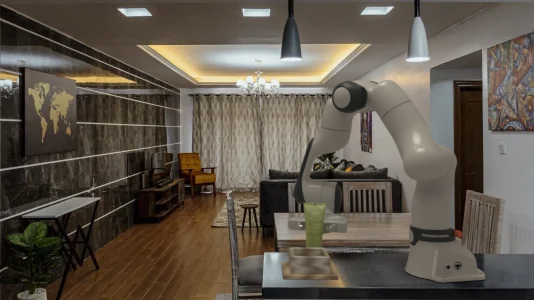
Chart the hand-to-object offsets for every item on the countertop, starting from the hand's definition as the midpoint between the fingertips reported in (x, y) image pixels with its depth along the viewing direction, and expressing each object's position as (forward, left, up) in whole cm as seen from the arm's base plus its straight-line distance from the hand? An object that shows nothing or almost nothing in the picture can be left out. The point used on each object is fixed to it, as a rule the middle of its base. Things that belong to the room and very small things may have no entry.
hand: (314, 229), depth 141 cm
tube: (0, -1, -11) cm, 11 cm away
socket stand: (+3, +10, -11) cm, 15 cm away
